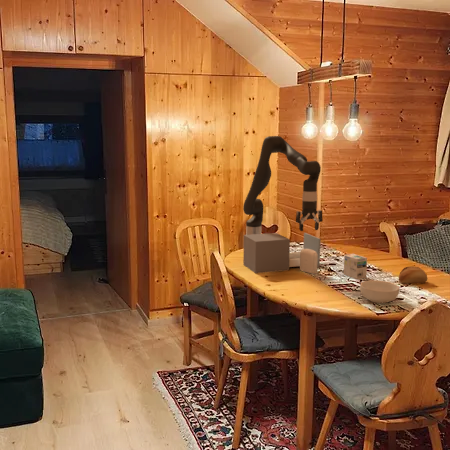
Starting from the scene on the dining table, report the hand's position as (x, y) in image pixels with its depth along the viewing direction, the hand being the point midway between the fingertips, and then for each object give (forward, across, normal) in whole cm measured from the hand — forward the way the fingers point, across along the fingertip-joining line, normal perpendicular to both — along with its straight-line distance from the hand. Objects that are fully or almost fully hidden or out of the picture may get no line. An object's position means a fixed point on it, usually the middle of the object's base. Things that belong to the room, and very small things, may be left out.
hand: (308, 230), depth 286 cm
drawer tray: (+22, 0, -15) cm, 27 cm away
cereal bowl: (+23, -9, +53) cm, 58 cm away
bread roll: (+23, -41, +33) cm, 58 cm away
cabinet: (+22, +18, -15) cm, 32 cm away
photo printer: (+23, 0, 0) cm, 23 cm away
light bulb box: (+23, -20, +14) cm, 33 cm away
